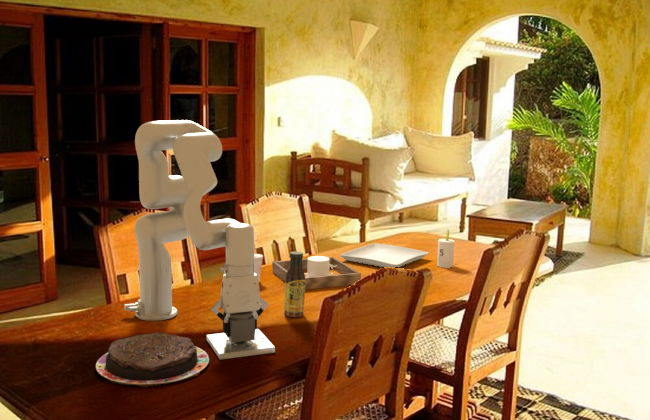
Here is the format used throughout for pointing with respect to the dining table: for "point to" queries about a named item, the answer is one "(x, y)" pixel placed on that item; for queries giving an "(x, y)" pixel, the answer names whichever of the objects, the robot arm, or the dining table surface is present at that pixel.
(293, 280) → the sauce bottle
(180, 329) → the dining table surface
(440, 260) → the candle
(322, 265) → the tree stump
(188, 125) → the robot arm
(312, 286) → the frame
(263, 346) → the shaft base
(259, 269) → the smoothie
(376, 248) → the square plate
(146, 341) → the chocolate cake
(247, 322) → the knob
